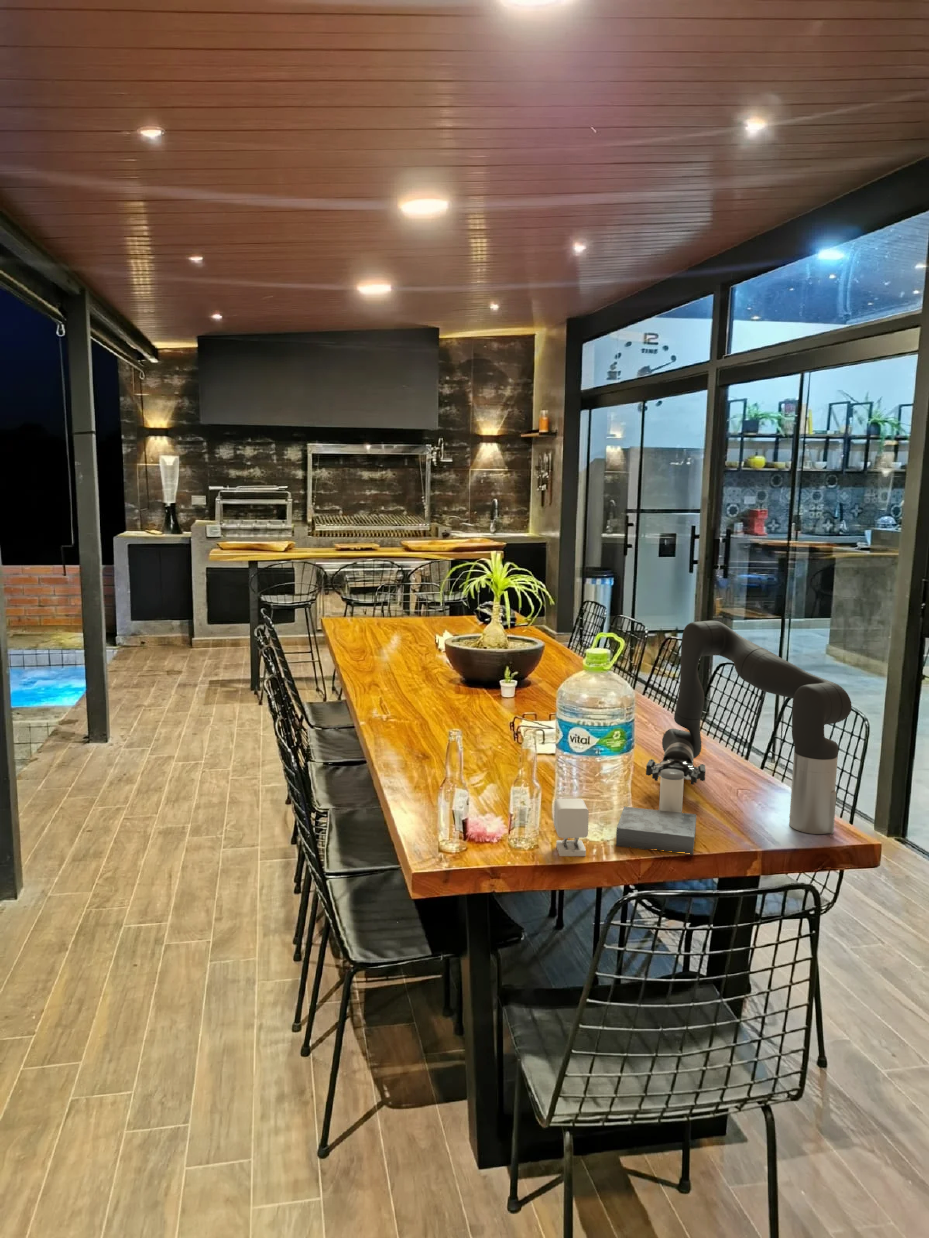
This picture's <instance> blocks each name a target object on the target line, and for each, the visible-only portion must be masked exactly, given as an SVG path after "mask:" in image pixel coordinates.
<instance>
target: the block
mask: <svg viewBox="0 0 929 1238" xmlns="http://www.w3.org/2000/svg"><path fill="white" fill-rule="evenodd" d="M696 831H697V814H696V813H686V812H682V813H679V812H670V811H661V810H659V809H649V808H640V807H634V806H633V807H631V806H623V807H622V812H621V814H620V817H619V821H618V824H617V826H616V838H615V847H623V848H629V847H631V849H637V848H639V849H638V850H646V849H657V850H664V851H672V852H685V853H690V854H693V855H694V850H693V849H694V848H695V841H696V840H695V839H696ZM694 840H695V841H694Z"/></svg>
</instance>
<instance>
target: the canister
mask: <svg viewBox="0 0 929 1238" xmlns="http://www.w3.org/2000/svg"><path fill="white" fill-rule="evenodd" d="M684 780H685V778H684V772H683V771H680V770H676V769H664V770H661V776H660V780H659V781H660V784H659V805H658V810H661V811H670V812H679V813H683V801H684V797H683V796H684V782H685V781H684Z"/></svg>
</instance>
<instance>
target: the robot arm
mask: <svg viewBox="0 0 929 1238" xmlns="http://www.w3.org/2000/svg"><path fill="white" fill-rule="evenodd" d="M680 645H681V646H680V667H679V669H680V671H679V672H680V675H679V676H680V677H679V678H680V679H679V680H680V681H679V688H678V689H679V690H678V696H677V700H676V705H675V710H674V714H673V720H674V722H675V723H676V724H677V725H679V726H680V727H681V728H684V729H686V731H685V730H681V729H677V728H670V729H667V730H666V731H665V732H664V733H663V736H662V741H661V746H662V750H663V752H664V754H663V758H662V761H660V762H656V761H655V760H654V759H649V760H648V762H647V763H646V766H645V767H646V769H645V776H651V778H652V780H653V779H654V782H657V781H658V780H659V777H661V770H664V769H676V770H680V771H683V772H684V780H690V785H694V784H697V782H698V780H700V781H701V782H705V781H706V764H699V765H698V766H695V765H694V759H696V758H697V757H698V756H700V754H701V751H702V737H701V720H702V716H703V715H702V714H703V710H704V705H705V693H704V692H705V691H704V689H703V685H702V684H701V681H700V678H699V674H698V673H699V672H698V671H699V670H698V668H699V663H700V660H701V658H702V657H711V656H718V657H723V658H724V659H727V660H728V661H731V662H732V663H733V666H734V670H735V672H736V674H737V675H738V676H739V678H740V679H742V680H743V681H745V682H746V683H748V684H749V685H751V686H753V688H756V689H758V690H760V691H762V692H765V693H769V694H772V695H776V696H780V697H785V698H789V699H792V705H791V707H792V708H791V736H792V742H793V747H794V750H793V761H792V762H793V763H792V778H791V791H790V792H791V793H790V803H789V804H790V805H789V806H790V808H789V817H788V818H789V820H788V822H789V823H788V825H789V826H790V827H791V828H792V829H793V830H796V831H798V832H802V833H806V834H813V835H825V834H834V831H835V830H834V829H835V821H836V820H835V818H836V817H835V816H836V805H837V791H836V787H837V774H838V773H837V772H838V770H837V769H838V757H839V745H838V743H837V742H836V741H835V740H832V739H830V738H826V737H825V725H831V724H832V725H833V724H837V723H840V722H842V721H844V720H846V719H847V718H848V717H849V715H850V714H851V711H852V708H853V707H852V706H853V705H852V701H851V698H850V696H849V693H847V691H846V690H845V689H844V688H843V687H842V686H840V685H839V684H837V683H836V682H833V681H830V680H827V679H825V678H823V677H820V676H817V675H815V674H813V673H810V672H808V671H805V670H804V669H802V668H800V667H798V666H797V665H795V664H793V663H791V662H789V661H787V660H785V659H783V658H782V657H780V656H778V655H777V654H775V653H774V652H772V651H769V650H768V649H765V648H764V647H762V646H760V645H758V644H757V643H754V642H752V641H750V640H748V639H746V638H744V637H743V636H742V635H740V634H739V633H737V632H736V631H734V630H733V629H732V628H730V627H729V626H728V625H726V624H725V623H723V622H721V621H718V620H703V621H699V620H698V621H692V622H689V623H687V625H686V626H685V627H684V629H683V632H682V636H681V644H680Z"/></svg>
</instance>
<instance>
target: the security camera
mask: <svg viewBox="0 0 929 1238" xmlns="http://www.w3.org/2000/svg"><path fill="white" fill-rule="evenodd" d="M553 808H554V811H553V813H554V814H553V825H554V828H555V831H556V834H557V837H559V838H561V839H563V840H560V839H559V840H558V839H557V840H556V845H555V847H556V850H557V852H558V855H559V857H586V855H587V850H586V847H585V845H584V843H583V840H580V839H581V838H582V839H584V838H587V837H588V834H589V819H590V817H589V816H590V815H589V813H590V812H589V809H588V807H587V805H586V802H585V800H584V799H582V798H556V799H555V800H554V806H553ZM568 839H571V840H568ZM573 839H574V840H573Z"/></svg>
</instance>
